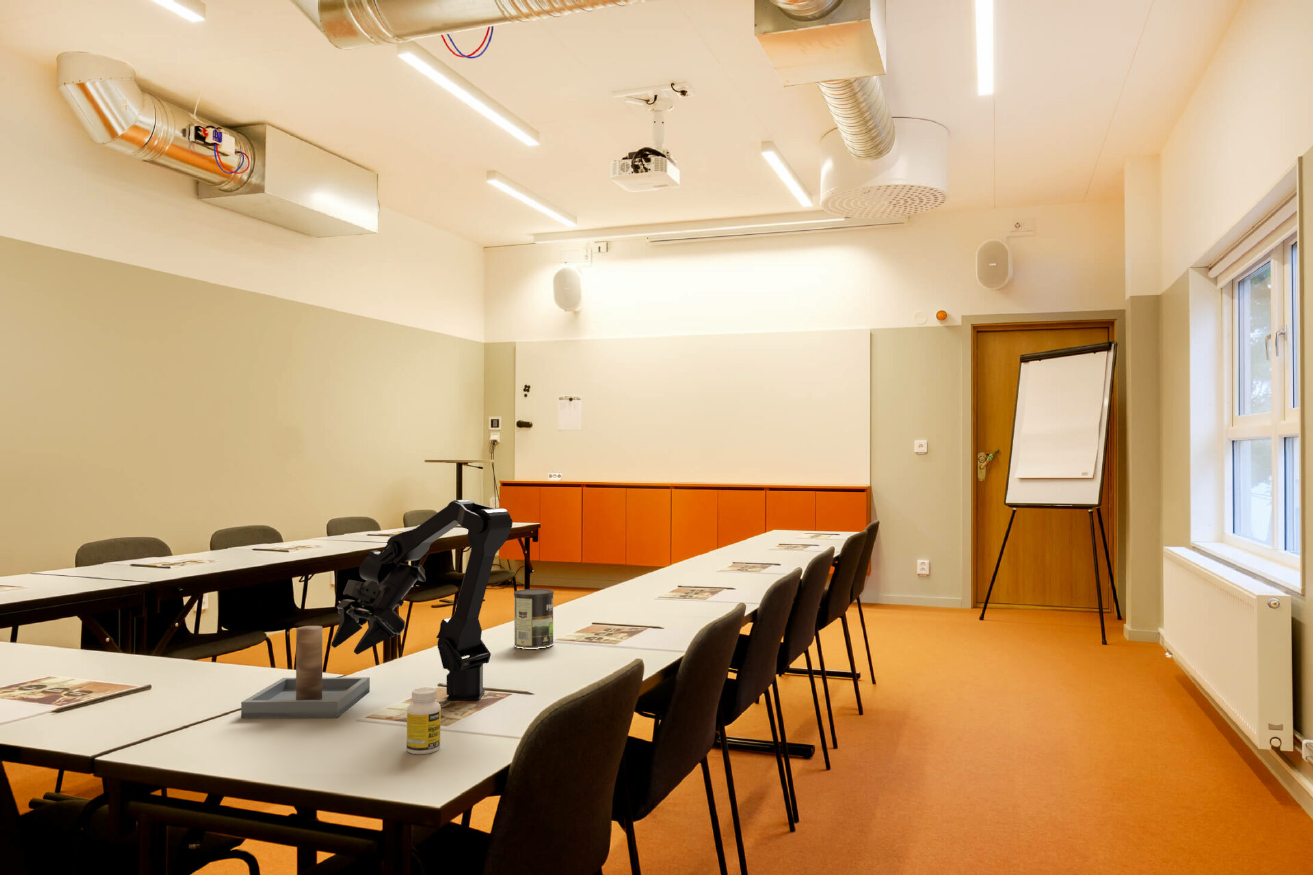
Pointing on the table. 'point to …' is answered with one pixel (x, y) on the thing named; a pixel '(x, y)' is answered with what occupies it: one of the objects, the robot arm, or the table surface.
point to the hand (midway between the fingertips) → (343, 649)
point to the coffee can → (533, 618)
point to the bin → (283, 701)
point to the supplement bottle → (423, 722)
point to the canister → (309, 663)
